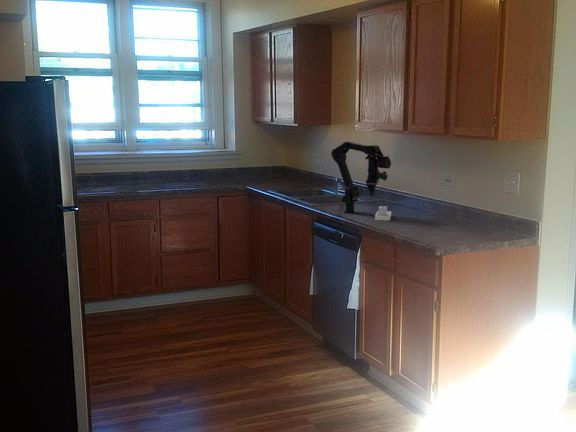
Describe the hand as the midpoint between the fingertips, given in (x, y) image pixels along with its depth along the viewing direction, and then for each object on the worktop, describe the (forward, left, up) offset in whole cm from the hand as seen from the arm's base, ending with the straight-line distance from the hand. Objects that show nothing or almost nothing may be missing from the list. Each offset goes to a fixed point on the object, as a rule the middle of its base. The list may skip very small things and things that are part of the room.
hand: (372, 194), depth 373 cm
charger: (+12, +7, -12) cm, 18 cm away
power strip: (+8, +7, -12) cm, 16 cm away
